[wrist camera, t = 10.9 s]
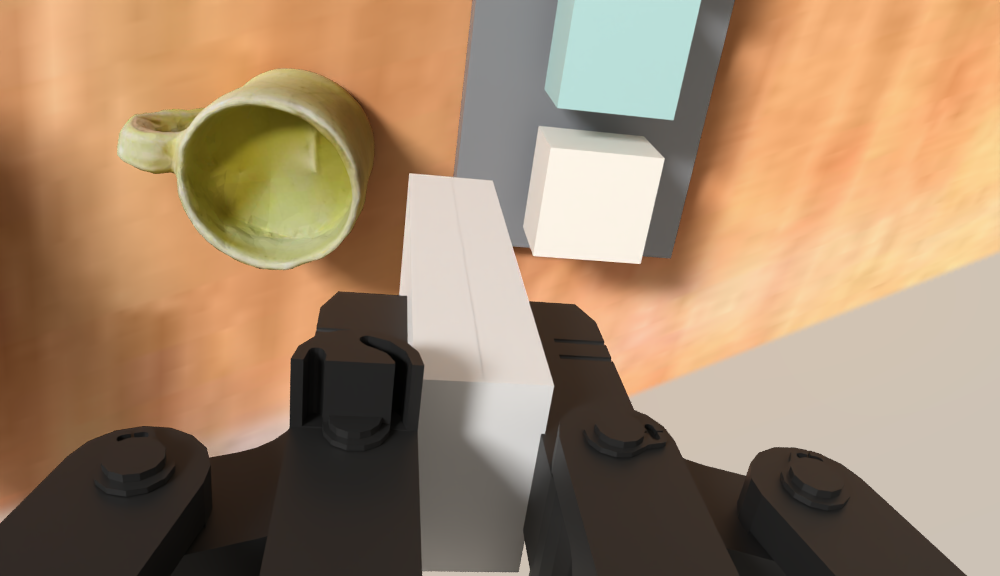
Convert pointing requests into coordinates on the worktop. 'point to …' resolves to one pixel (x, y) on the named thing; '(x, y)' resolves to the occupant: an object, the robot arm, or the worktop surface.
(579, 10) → the teal key
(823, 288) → the worktop surface
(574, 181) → the ivory key
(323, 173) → the mug
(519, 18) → the console
